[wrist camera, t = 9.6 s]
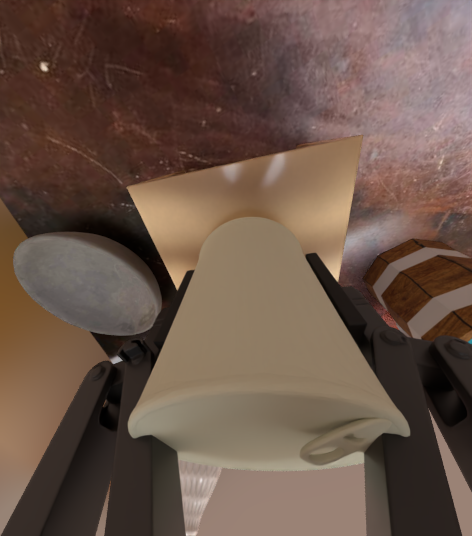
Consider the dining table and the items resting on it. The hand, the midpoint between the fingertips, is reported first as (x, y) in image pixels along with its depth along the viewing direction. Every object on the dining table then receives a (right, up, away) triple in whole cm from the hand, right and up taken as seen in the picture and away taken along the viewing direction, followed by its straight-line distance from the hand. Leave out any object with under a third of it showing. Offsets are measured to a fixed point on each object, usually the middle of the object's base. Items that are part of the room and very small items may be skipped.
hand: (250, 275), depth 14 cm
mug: (+30, -2, +19) cm, 36 cm away
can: (0, +1, +1) cm, 2 cm away
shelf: (+1, +9, +13) cm, 15 cm away
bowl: (-24, 0, +20) cm, 31 cm away
